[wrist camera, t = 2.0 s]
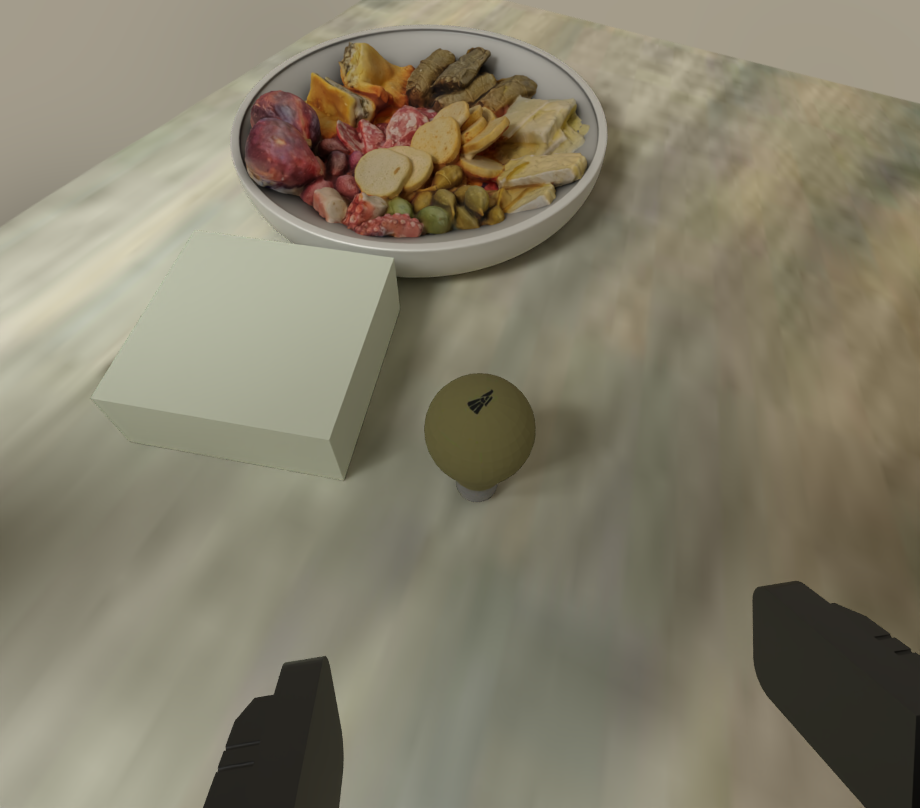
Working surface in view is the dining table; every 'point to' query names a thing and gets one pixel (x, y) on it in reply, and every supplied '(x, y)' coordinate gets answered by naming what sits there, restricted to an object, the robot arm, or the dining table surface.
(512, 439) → the light bulb
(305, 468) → the block
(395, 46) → the bowl
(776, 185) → the dining table surface
